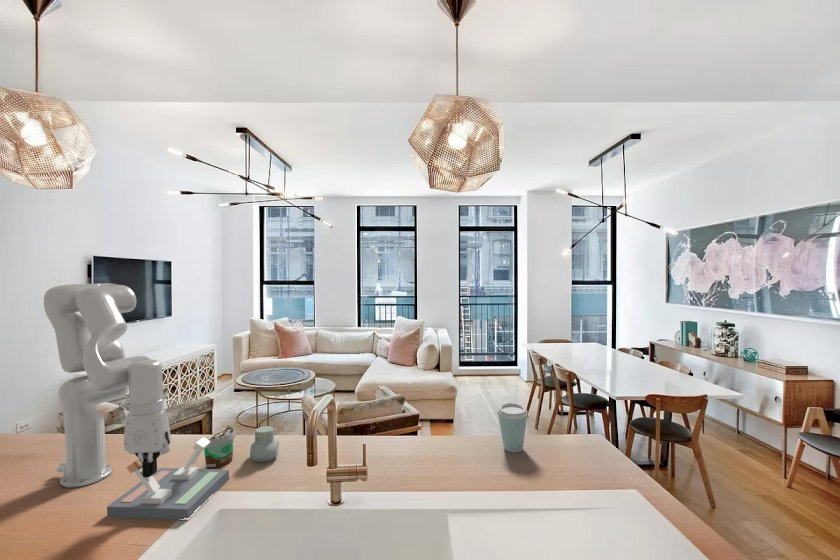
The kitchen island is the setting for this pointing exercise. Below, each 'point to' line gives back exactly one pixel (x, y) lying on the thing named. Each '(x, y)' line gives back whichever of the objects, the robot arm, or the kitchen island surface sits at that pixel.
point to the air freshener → (264, 445)
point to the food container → (220, 449)
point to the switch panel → (169, 503)
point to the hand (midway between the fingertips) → (150, 474)
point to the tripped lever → (147, 481)
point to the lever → (196, 452)
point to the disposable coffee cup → (512, 425)
